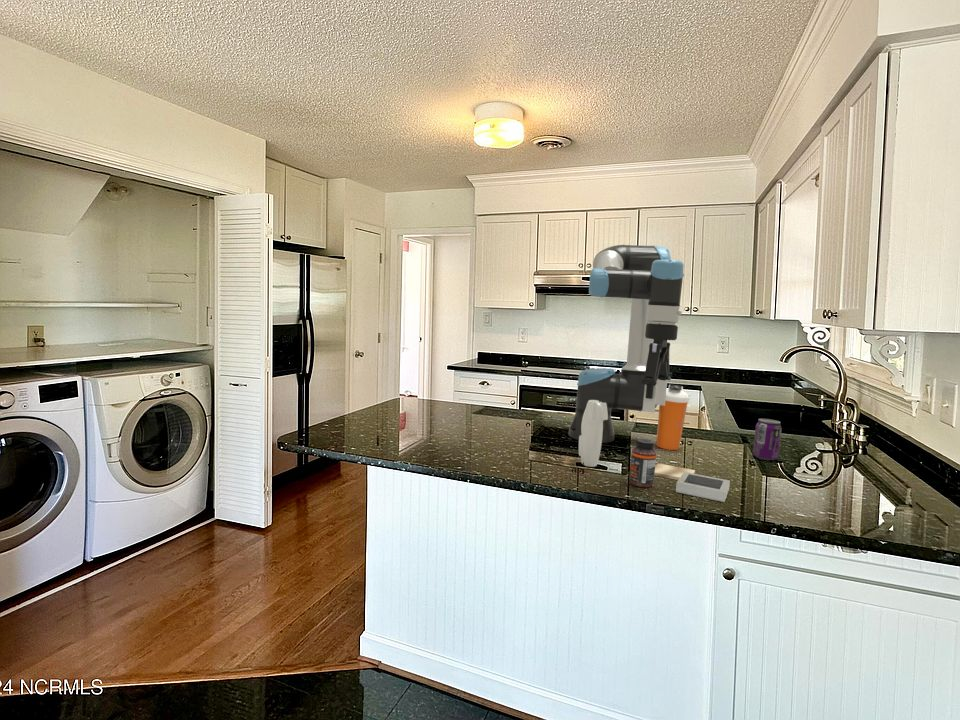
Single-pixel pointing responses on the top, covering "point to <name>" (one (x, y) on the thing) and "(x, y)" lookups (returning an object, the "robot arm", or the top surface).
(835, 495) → the top surface
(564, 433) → the top surface
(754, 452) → the beverage can
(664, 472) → the maple coaster
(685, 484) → the grey tray
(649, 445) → the supplement bottle
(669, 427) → the shaker bottle
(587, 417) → the white bottle
